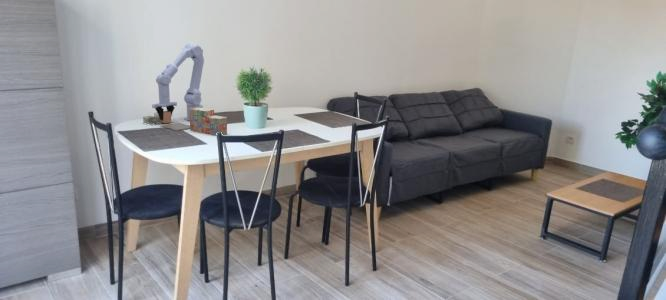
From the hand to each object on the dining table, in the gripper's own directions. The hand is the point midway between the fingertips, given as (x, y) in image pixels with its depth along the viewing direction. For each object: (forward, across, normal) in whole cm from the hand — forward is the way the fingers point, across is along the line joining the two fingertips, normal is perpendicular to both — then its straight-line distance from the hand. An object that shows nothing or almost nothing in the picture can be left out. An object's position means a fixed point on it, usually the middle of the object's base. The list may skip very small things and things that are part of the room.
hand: (165, 119), depth 276 cm
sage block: (+2, +7, -5) cm, 9 cm away
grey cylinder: (+2, 0, -7) cm, 7 cm away
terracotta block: (+2, 0, 0) cm, 2 cm away
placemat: (+2, +1, +14) cm, 14 cm away
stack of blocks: (+3, -4, +36) cm, 36 cm away
